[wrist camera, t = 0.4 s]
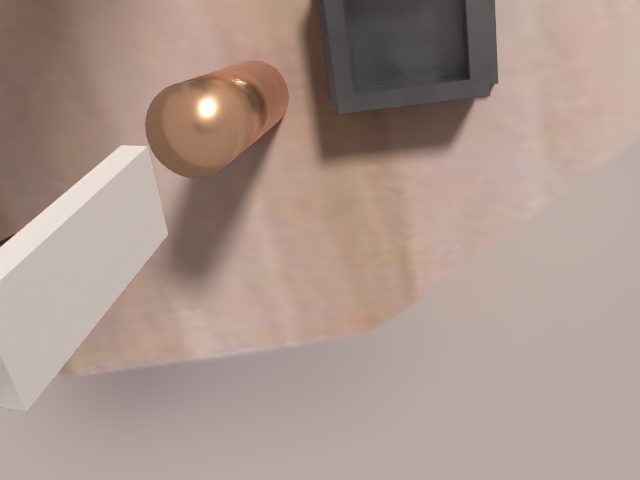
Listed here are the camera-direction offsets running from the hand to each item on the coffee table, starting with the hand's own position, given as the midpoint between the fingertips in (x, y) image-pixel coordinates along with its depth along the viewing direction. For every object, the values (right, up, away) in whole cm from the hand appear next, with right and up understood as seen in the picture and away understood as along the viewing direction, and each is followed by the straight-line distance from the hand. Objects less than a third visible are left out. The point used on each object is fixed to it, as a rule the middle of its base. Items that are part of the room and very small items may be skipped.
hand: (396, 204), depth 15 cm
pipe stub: (-6, +8, +24) cm, 26 cm away
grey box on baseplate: (+3, +14, +20) cm, 25 cm away
